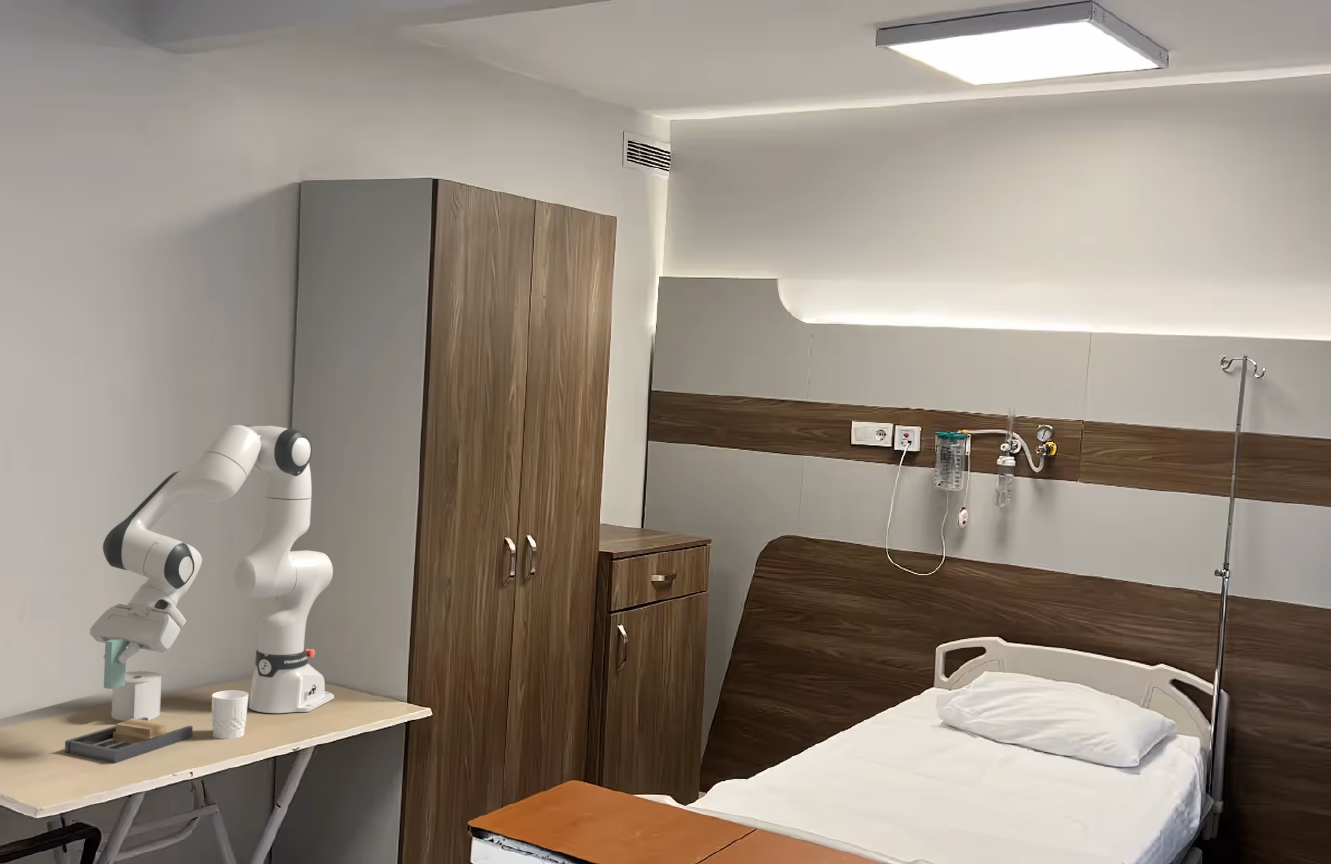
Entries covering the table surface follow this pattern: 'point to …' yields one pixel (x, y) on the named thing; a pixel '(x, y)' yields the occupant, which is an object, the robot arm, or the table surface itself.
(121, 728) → the offcut stack
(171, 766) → the table surface
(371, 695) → the table surface
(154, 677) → the toilet tissue
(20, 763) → the table surface
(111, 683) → the sage board
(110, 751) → the tray
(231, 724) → the white cup
